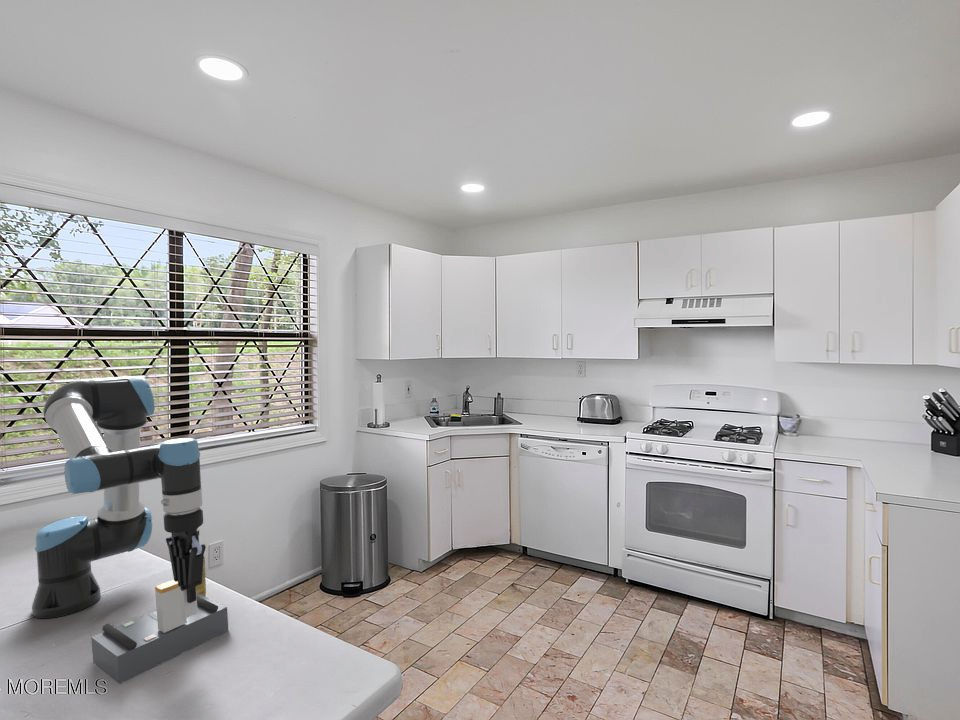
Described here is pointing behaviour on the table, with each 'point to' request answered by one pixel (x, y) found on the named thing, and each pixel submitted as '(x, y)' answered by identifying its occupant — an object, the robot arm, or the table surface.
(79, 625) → the table surface
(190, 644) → the switch panel
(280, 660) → the table surface
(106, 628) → the pair of dark rails
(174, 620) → the lever
